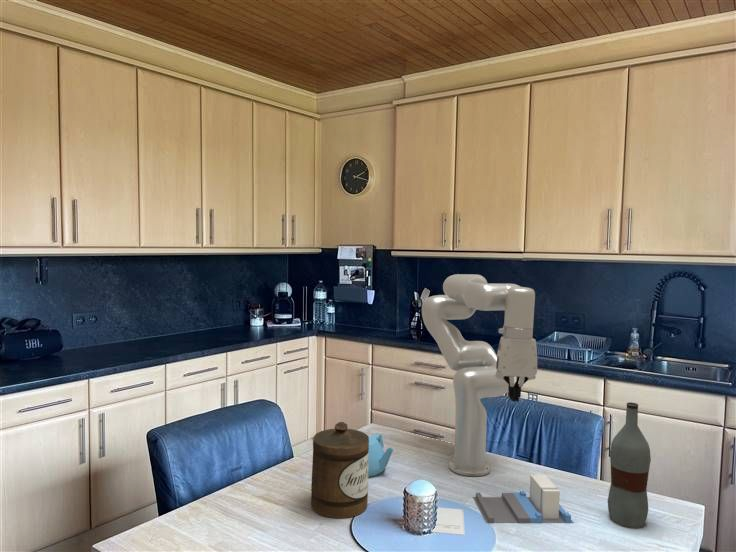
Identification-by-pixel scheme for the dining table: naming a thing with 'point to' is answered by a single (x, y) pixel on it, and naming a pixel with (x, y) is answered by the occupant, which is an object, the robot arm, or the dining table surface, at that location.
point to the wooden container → (340, 472)
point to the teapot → (377, 455)
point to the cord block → (544, 496)
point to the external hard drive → (449, 521)
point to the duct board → (514, 509)
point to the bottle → (629, 473)
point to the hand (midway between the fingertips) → (513, 399)
